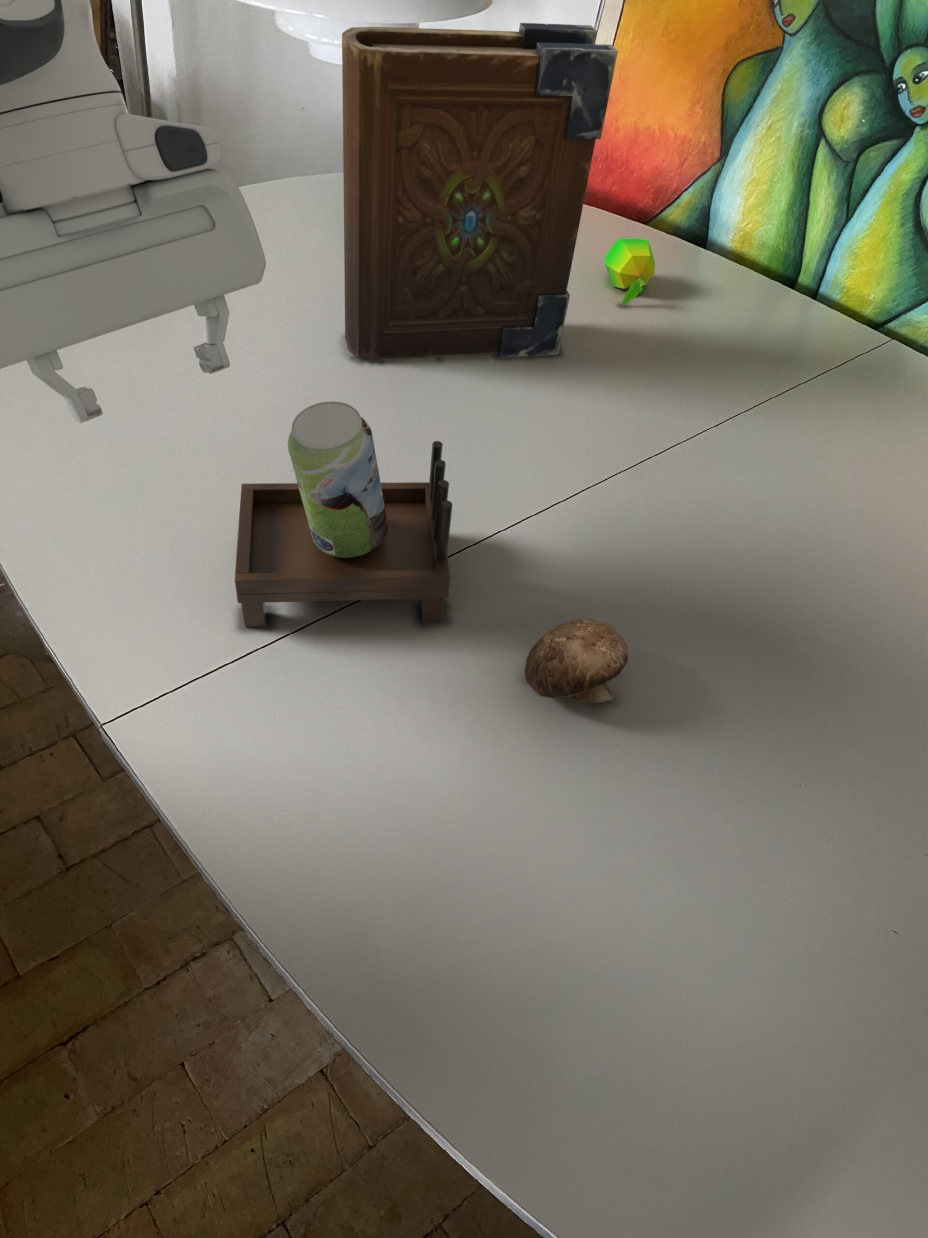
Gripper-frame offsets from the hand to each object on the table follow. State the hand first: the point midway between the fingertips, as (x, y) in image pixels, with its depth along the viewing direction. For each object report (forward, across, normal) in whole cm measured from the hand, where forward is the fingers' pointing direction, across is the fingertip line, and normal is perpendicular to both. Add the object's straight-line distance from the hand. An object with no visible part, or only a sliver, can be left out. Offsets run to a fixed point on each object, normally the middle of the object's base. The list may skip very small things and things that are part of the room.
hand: (155, 393), depth 58 cm
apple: (+12, +68, +17) cm, 71 cm away
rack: (+19, +9, 0) cm, 21 cm away
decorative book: (+11, +41, +20) cm, 47 cm away
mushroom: (+27, +16, -18) cm, 36 cm away
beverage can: (+15, +9, -2) cm, 18 cm away
